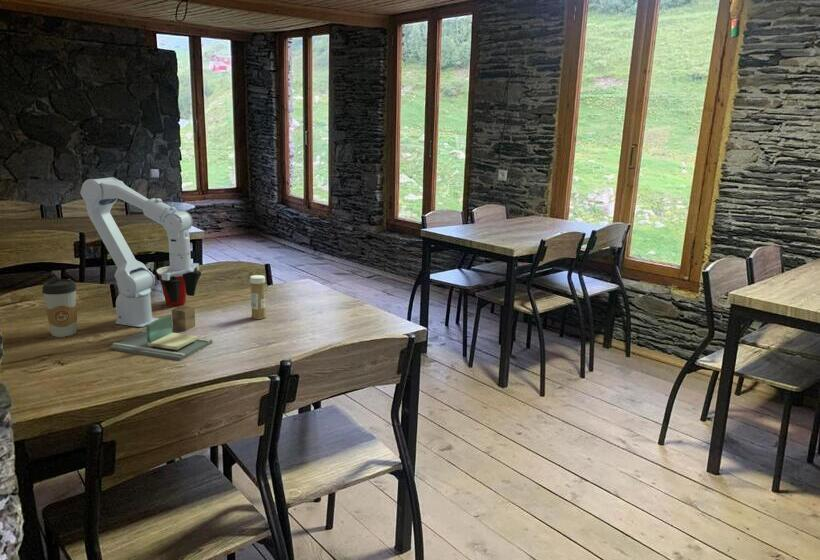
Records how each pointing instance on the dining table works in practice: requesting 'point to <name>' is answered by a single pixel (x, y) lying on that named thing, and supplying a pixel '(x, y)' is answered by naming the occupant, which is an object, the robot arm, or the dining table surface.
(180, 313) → the walnut block
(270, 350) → the dining table surface
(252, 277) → the sprinkles bottle
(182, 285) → the plastic cup
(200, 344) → the track board
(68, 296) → the coffee cup
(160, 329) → the sliding tray
